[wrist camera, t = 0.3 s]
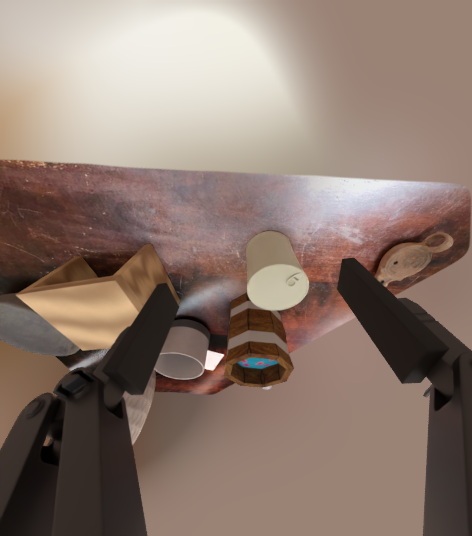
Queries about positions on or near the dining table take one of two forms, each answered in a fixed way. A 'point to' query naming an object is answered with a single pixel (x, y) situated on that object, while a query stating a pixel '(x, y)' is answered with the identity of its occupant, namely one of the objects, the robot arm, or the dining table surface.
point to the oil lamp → (409, 258)
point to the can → (274, 272)
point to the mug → (256, 346)
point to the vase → (139, 407)
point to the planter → (184, 350)
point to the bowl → (30, 329)
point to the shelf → (96, 298)
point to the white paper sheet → (212, 360)
